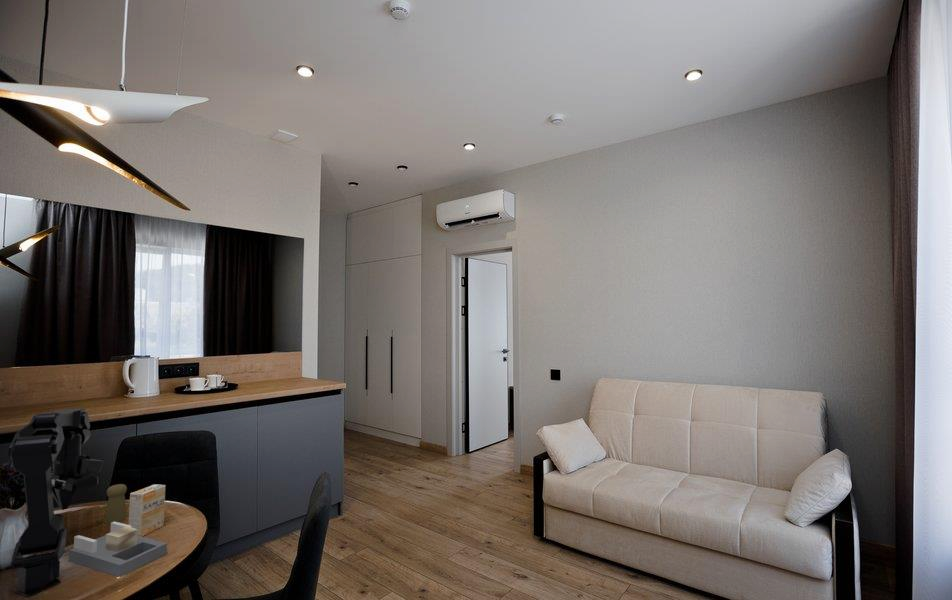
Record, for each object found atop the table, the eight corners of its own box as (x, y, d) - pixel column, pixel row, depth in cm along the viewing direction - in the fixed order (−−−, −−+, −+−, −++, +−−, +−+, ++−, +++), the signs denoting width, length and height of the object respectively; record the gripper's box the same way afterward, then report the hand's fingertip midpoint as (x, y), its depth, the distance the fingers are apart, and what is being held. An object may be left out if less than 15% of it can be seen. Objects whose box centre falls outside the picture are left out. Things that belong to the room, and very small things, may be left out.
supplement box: (140, 538, 133) (142, 494, 134) (127, 536, 134) (129, 493, 135) (164, 526, 141) (166, 484, 142) (152, 524, 142) (153, 483, 143)
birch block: (117, 552, 120) (118, 537, 120) (105, 549, 121) (106, 534, 121) (137, 543, 124) (137, 529, 124) (125, 540, 126) (125, 526, 126)
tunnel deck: (119, 577, 113) (120, 553, 114) (68, 560, 121) (70, 538, 121) (166, 554, 125) (167, 532, 125) (117, 540, 132) (118, 520, 132)
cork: (116, 523, 143) (118, 488, 143) (98, 523, 143) (100, 488, 143) (131, 515, 149) (133, 482, 149) (113, 515, 149) (115, 481, 149)
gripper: (120, 449, 130) (117, 503, 130) (80, 442, 137) (77, 494, 136) (75, 460, 120) (71, 519, 119) (34, 452, 126) (30, 508, 126)
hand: (64, 509), depth 125 cm, fingers closed
